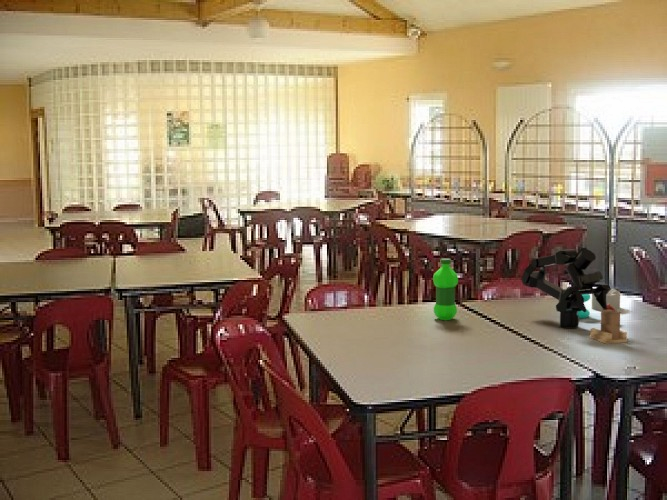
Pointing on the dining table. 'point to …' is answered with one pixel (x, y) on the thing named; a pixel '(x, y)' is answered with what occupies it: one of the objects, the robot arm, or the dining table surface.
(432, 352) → the dining table surface
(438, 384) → the dining table surface
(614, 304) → the lumpy-topped squat cylinder
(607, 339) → the oak base
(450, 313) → the plastic bottle
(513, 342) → the dining table surface
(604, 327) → the brown cardboard box
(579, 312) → the donuts
